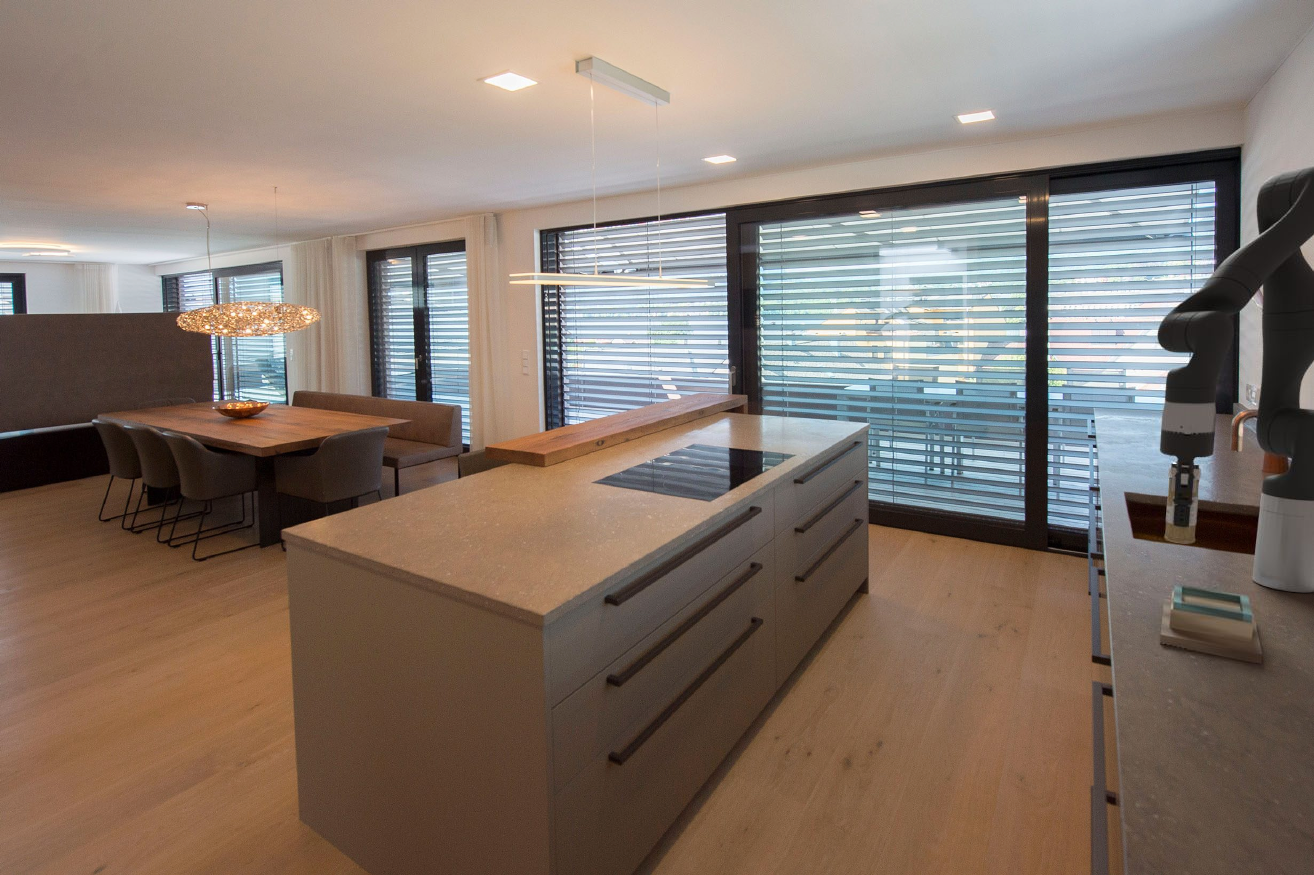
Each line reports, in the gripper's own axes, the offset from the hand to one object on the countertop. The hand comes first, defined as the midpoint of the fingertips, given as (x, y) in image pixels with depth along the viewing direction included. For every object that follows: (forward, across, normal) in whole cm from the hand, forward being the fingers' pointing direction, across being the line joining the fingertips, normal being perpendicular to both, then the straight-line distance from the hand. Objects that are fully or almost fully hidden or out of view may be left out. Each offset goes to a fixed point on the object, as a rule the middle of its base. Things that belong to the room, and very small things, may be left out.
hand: (1181, 522), depth 125 cm
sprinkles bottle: (+4, 0, 0) cm, 4 cm away
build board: (+14, +15, +4) cm, 21 cm away
